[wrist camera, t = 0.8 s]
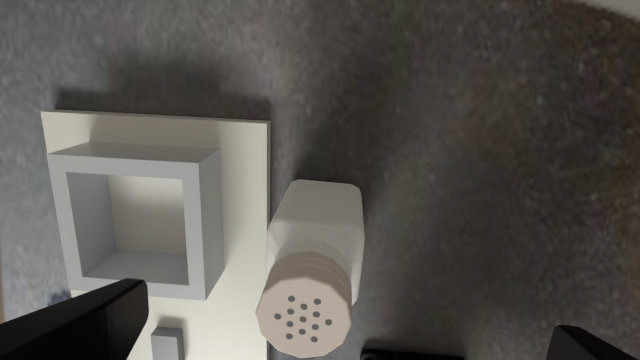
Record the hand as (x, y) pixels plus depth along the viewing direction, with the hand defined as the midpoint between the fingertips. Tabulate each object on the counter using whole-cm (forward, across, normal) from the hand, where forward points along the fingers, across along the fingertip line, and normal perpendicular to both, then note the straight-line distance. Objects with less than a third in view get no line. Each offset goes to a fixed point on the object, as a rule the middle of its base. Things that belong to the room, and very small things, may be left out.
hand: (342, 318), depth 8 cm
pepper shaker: (+13, +1, +2) cm, 13 cm away
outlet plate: (+13, +10, +7) cm, 18 cm away
